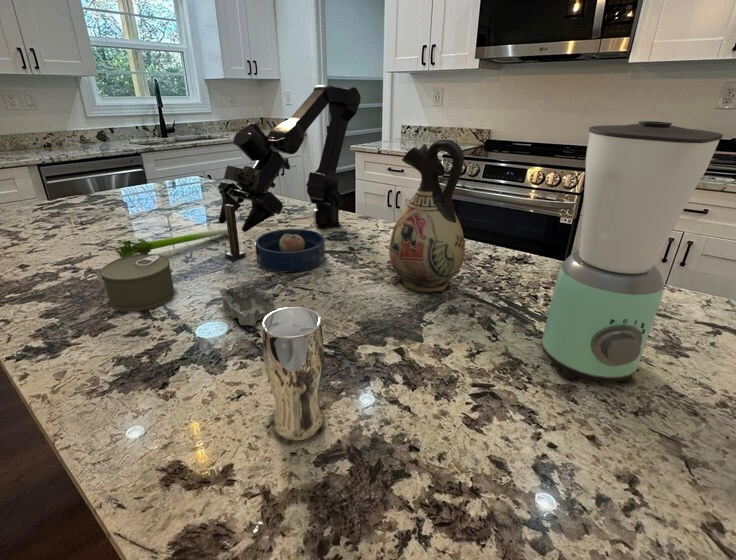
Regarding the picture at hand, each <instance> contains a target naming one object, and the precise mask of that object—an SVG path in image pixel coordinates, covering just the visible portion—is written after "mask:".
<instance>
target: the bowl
mask: <svg viewBox="0 0 736 560" xmlns="http://www.w3.org/2000/svg"><path fill="white" fill-rule="evenodd" d="M284 234H290V235H294V234H297V235H299V236H301V237H302V239H303V240H304V242H305V246H304V250H302V251H295V252H281V250H280V245H279V243H280V239H281V238H282V236H283V235H284ZM254 240H255V241H254V247H255V255H256V256H255V257H256V263H257V264H258V265H259V266H260V267H261V268H262V269H263V268H264V269H266V270H268V271H273V272H280V273H281V272H285V273H286V272H287V273H293V272H302V271H306V270H309V269H313V268H315V267H318V266H320V265H321V264H322V263H323V262H324V261H325V258H326V238H325V237H324V235H323V234H321V233H320V232H317V231H314V230H310V229H304V228H283V229H276V230H272V231H268V232H266V233H263V234H261V235H259V236H258V237H256V239H254Z"/></svg>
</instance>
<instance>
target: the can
mask: <svg viewBox="0 0 736 560" xmlns="http://www.w3.org/2000/svg"><path fill="white" fill-rule="evenodd" d="M100 276H101V278H102V281H103V283H104V287H105V290H106V293H107V297H108V300H109V304H110V307H111V308H112V309H114V310H115V311H118V312H124V313H134V312H136V313H137V312H142V311H148V310H151V309H154V308H158V307H159V306H162V305H164V304H166V303H167V302H169V301H170V300H171V299H172V298H173V297H174V296H175V288H174V282H173V277H172V272H171V261H170V258H168V257H167V256H165V255H162V254H155V253H148V254H142V255H140V254H135V255H134V254H133V255H132V256H129V257H125V258H122V257H120V258H118V259H116V260H113V261H111V262H109V263H107V264H105V265H104V266H103V267H102V268H101V269H100Z"/></svg>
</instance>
